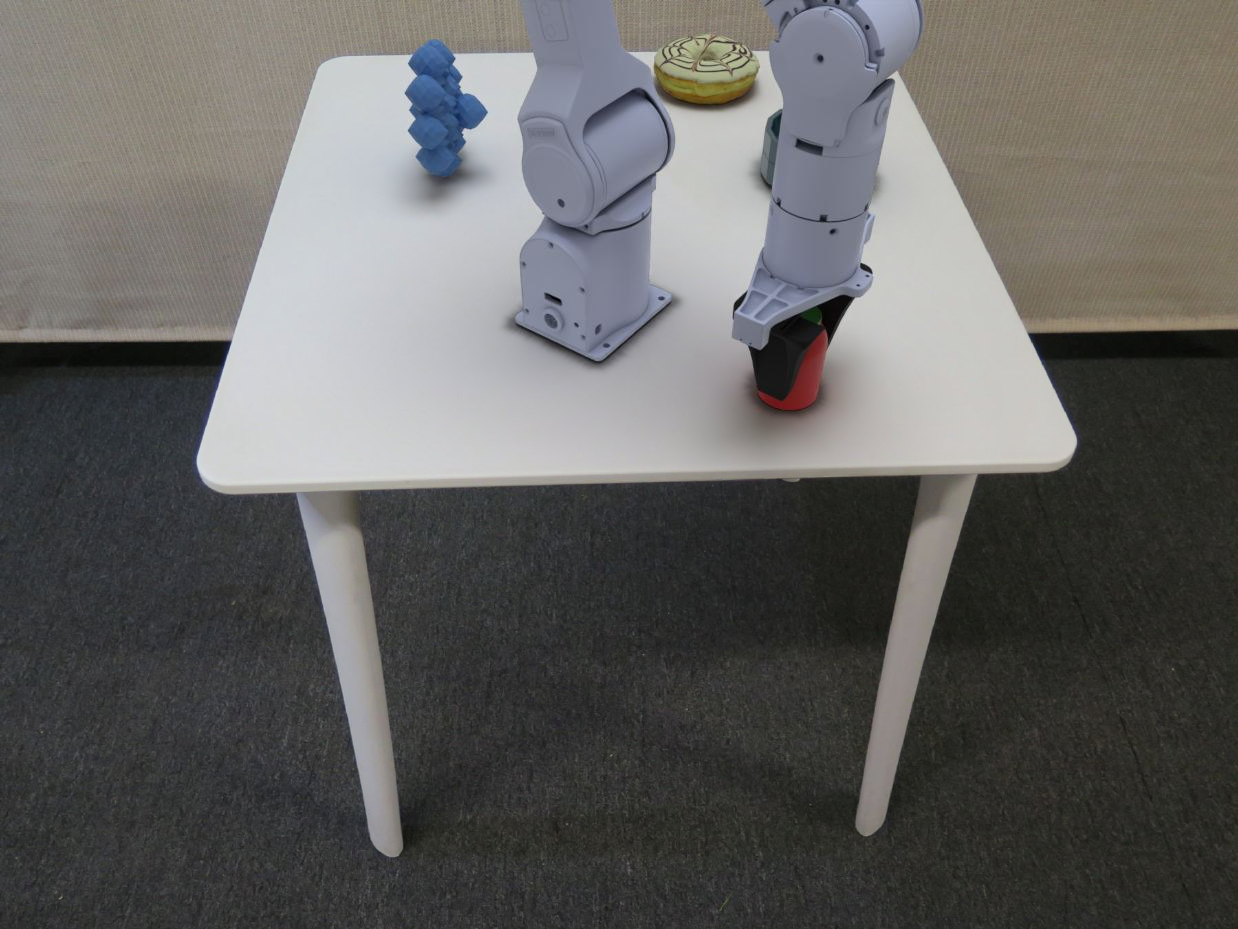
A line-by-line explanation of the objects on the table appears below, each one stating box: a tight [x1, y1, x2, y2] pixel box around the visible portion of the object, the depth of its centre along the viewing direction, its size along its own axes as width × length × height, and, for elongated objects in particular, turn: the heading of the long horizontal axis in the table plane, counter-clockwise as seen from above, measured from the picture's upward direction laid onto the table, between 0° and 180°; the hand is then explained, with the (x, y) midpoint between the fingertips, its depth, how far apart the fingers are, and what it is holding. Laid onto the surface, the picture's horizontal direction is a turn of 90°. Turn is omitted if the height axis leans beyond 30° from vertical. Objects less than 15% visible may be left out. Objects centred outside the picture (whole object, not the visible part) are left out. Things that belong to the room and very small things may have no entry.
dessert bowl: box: [759, 107, 783, 187], centre depth 87 cm, size 10×10×4 cm
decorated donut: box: [653, 33, 761, 105], centre depth 99 cm, size 10×11×4 cm
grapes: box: [404, 38, 489, 178], centre depth 84 cm, size 12×7×12 cm, turn 178°
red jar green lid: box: [756, 306, 828, 411], centre depth 66 cm, size 4×4×6 cm
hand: (789, 374), depth 67 cm, fingers closed on red jar green lid, 4 cm apart
